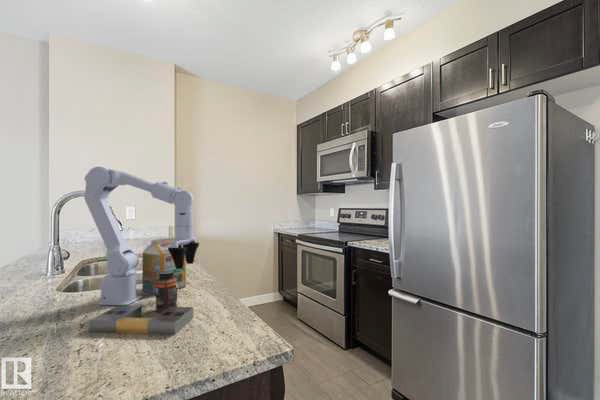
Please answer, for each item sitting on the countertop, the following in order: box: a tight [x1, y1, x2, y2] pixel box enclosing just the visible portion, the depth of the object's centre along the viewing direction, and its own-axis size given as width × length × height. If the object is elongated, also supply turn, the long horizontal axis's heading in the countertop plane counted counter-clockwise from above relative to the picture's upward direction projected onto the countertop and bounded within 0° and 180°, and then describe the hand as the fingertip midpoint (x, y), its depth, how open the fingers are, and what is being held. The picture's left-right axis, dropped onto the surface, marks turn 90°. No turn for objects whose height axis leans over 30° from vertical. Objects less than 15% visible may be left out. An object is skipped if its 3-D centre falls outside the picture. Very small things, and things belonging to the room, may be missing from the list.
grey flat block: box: [88, 305, 194, 335], centre depth 75 cm, size 22×10×3 cm, turn 86°
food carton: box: [141, 236, 187, 295], centre depth 106 cm, size 11×11×19 cm
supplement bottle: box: [155, 271, 178, 313], centre depth 86 cm, size 6×6×11 cm
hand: (184, 265), depth 97 cm, fingers open, 7 cm apart
